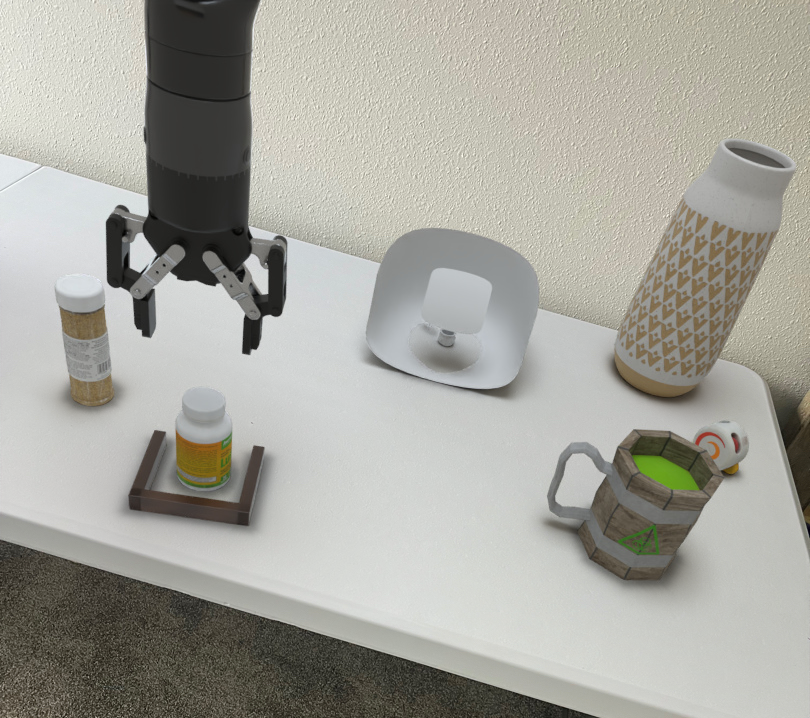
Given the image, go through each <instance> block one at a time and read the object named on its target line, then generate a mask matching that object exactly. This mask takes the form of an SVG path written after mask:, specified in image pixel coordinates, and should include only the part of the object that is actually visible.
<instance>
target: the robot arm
mask: <svg viewBox="0 0 810 718" xmlns="http://www.w3.org/2000/svg"><path fill="white" fill-rule="evenodd" d="M261 2H262V0H144V1H143V3H144V5H143V6H144V7H143V16H144V17H143V21H144V22H143V23H144V24H143V25H144V51H145V53H144V54H145V73H146V77H145V81H146V83H145V85H146V86H145V96H144V108H143V120H144V125H143V127H142V128H143V129H142V130H143V143H144V146H145V165H146V166H145V167H146V188H147V189H146V191H147V209H148V212H147V216H144V215H140V214H136V213H132V212H130V209H129V208H128V207H127V206H126V205H123V204H117V205H116V206H115V207H114V208H113V210H112V211H111V212H110V214H109V215H108V218H107V219H106V220H105V252H106V253H105V256H106V258H105V259H106V263H105V265H106V282H107V284H108V285H109V287H111V288H113V289H119V288H121V289H123V290H125V291H127V292H128V293H129V294H130V295H131V297H132V305H133V306H132V308H133V309H132V310H133V324H134V326H135V328H136V330H138V331H141V337H143V338H148V339H152V337H153V335H154V333H155V331H156V330H157V329H156V328H157V309H156V308H157V306H156V288H154V287H155V286H158V284H159V283H160V282H161V281H162V280H163V279H165V277H166V276H167V275H168V274H169V273H170V274H172V275H173V276H175V277H176V280H177V281H182V282H198V283H201V284H203V285H205V286H210V287H217V285H221V286H222V287H223V288H224V290H225V291H226V293H227V294H228V297H230V298H231V299H232V300H233V301H236V302H237V304H238V305H239V307H240V308H241V310H242V311H243V312H244V316H243V324H242V341H241V342H242V343H241V354H242V355H247V356H251V354H252V351H253V350H254V351H257V350H258V348H259V347H260V343H261V340H262V336H263V335H262V334H263V321H264V317H267V316H271V317H274V318H279V317H281V316H282V314H283V312H284V308H285V305H286V300H287V286H288V285H287V281H288V279H287V277H288V239H287V238H286V237H284V236H283V235H281V234H280V235H279V234H278V235H277V234H276V235H275V236H274V237H273V239H272V240H271V239H265V238H264V239H263V238H258V237H253V234H252V233H251V230H250V226H249V217H250V216H249V215H250V199H251V198H250V197H251V196H250V195H251V176H252V175H251V174H252V158H253V157H252V155H253V134H254V133H253V132H254V131H253V130H254V121H253V108H252V79H253V78H252V77H253V75H252V74H253V55H254V29H255V22H256V18H257V16H258V15H257V14H258V12H259V8H260V6H261V5H260V4H261ZM138 234H143V237H144V238H145V240H146V242H147V243H148V244H149V246H150V247H151V249H152V250H153V251H154V253H155V254H154V255H153V256H152V258H151V259H150V261H148V263H147V264H146V265H145V266H144V267H143V268H142V269H141V270H140V271H137V270H135V269H133V268H132V267H131V243H133V242H134V241H136V239H137V237H138ZM251 255H254V256H256V257H257V259H258V261H259V264H260V267H262V268H263V269H264V270H267V293H262V292H261V290H260V289H259V288H258V286H257V285H256V283H255V282H254V280H253V276H252V273H251V271H250V270H249V268H248V267H247V265H246V263H245V262H246V261H247V260H248V259H249V258H250V257H251Z"/></svg>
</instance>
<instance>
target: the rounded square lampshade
mask: <svg viewBox="0 0 810 718" xmlns="http://www.w3.org/2000/svg"><path fill="white" fill-rule="evenodd" d="M373 287H374V288H373V292H372V298H371V301H370V304H371V305H370V309H369V314H368V318H367V321H366V322H367V323H366V328H365V340H366V344H367V346H368V348H369V349H370V352H372V353H373V354H374V355H375V356H376V357H377V358H378V359H379V360H381V361H382V362H384V363H385V364H388V365H389V366H391V367H393V368H395V369H397V370H400V371H402V372H404V373H407V374H409V375H413V376H415V377H416V376H417V377H419V378H423V379H425V380H429V381H433V382H436V383H441V384H445V385H450V386H455V387H461V388H468V389H477V390H480V389H481V390H489V389H498V388H501V387H505V386H507V385H509V384H510V383H512V381H514V379H515V378H517V375H518V374H519V372H520V370H521V367H522V364H523V361H524V357H525V354H526V351H527V348H528V345H529V341H530V339H531V335H532V332H533V329H534V325H535V322H536V319H537V317H538V310H539V304H540V282H539V279H538V275H537V272H536V271H535V268H534V267H533V265H532V264H531V263H530V261H529V260H528V259H527V258H526V257H524V255H523V254H521V253H520V252H518V251H517V250H515V249H514V248H512V247H511V246H508V245H505V244H504V243H502V242H499V241H498V240H494V239H492V238H489V237H486V236H482V235H479V234H476V233H473V232H468V231H465V230H464V231H463V230H459V229H452V228H443V227H442V228H441V227H424V228H418V229H414V230H411V231H408V232H406V233H404V234H402V235H401V236H399V237H398V238H396V240H395V241H394V242H393V243H392V244H391V245H390V246H389V247H388V249H387V250H386V252H385V254H384V256H383V258H382V260H381V262H380V264H379V267H378V270H377V273H376V276H375V283H374V286H373ZM421 324H425V327H427V329H428V330H430V329H431V328H432V327H433V328H437V329H440V332H439V333H438V338H437V339H438V342H439V344H440V345H441V346H444V347H449V346H452V345H453V344H454V343H455V340H456V335H457V334H463V335H473V336H474V337H475V338H476V340H478V342H479V344H480V355H479V357H478V359H477V360H476V361H475V362H474V363H473V364H471V365H470V366H467V367H465V368H463V369H460V370H457V371H452V372H437V371H435V370H433V369H432V368H429V367H427V366H426V365H425V364H424V363H423V362H422V361H421V360H420V359H419V358H418V357H417V356H416V355H415V353H414V351H413V350H412V348H411V344H410V343H409V342H410V335H411V332H412V331H413V330H414V329H415V328H416V327H418V325H421Z"/></svg>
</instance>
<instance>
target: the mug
mask: <svg viewBox="0 0 810 718" xmlns="http://www.w3.org/2000/svg"><path fill="white" fill-rule="evenodd" d="M692 442H693V441H690V440H688V439H686V438H684V437H683V436H680V435H679V434H677V433H674V432H673V431H672V430H660V429H638V428H633V429H632V430H631V431H630V432H629V434H628V435H626V437H625V438H624V439H623V440H622V441H621V442H620V443H619V444H618V445H617V447H616V450H615V453H614V456H613V459H612V462H609V461H607V460H605V459H604V457H603V456H602V454H601V452H600V451H599V449H598V448H597V447H595V446H594V445H592V444H591V443H590V442H588V441H577V442H575V441H574V442H573V441H572V442H570V443H569V444H568V446H567V447H566V448H565V449H563V451H562V452H561V453H560V454H559V456H558V460H557V464H556V468H555V471H554V474H553V476H552V479H551V481H550V485H549V488H548V491H547V493H546V499H547V504H548V510H549V512H551V513H552V514H554V515H555V516H556V517H558V518H563V519H573V520H579V521H583V522H582V523H581V525H580V526H579V527H578V529H577V533H578V536H579V538H580V541H581V543H582V545H583V548H584V550H585V553H586V554H587V557H588V560H589V561H592V562H593V563H595V564H597V565H598V566H600V567H602V568H604V569H605V570H606V571H608V572H610V573H612V574H613V575H615V576H617V577H618V578H620V579H621V580H623V581H660V580H661V579H662V577H663V576H664V574H665V573H666V571H667V570H668V568H669V567H670V565H671V564H672V562H673V561H674V559H675V557H676V555H677V552H678V551H679V548H680V547H681V545H683V543H684V541H685V540H686V539H687V537H688V536H689V534H690V533H691V531H692V530H693V528H694V526H696V524H697V522H698V520H699V518H700V516H701V514H702V512H703V510H704V508H705V506H706V505H707V504H708V502H709V501H710V500H711V499H712V497H713V496H714V494H715V493H716V491H717V490H718V488H719V487H721V484H722V483H723V481H724V480H725V476H724V474H723V473H722V470H719V468H718V467H717V465H716V464H715V462H714V461H713V459H712V457H711V456H710V454H709V453H708V451H707V450H705V449H703V448H701V447H700V446H698V445H696V444H694V443H692ZM576 454H577V455H578V454H584V455H586V456H587V457H588V458H590V459H591V461H592V463H593V464H594V466H595V468H596V469H597V471H599V472H600V473H602V474H604V475H605V477H604V478H603V479H602V481H601V483H600V485H599V486H598V488H597V490H596V491H595V494H594V497H593V500H592V502H591V506H590V508H585V507H579V506H569V505H567V506H566V505H562V504H560V503H558V502H557V501H556V496H557V492H558V490H559V488H560V485H561V483H562V481H563V478H564V475H565V470H566V465H567V462H568V461H569V459H570V458H571V457H572V455H576Z"/></svg>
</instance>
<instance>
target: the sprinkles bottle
mask: <svg viewBox="0 0 810 718" xmlns="http://www.w3.org/2000/svg"><path fill="white" fill-rule="evenodd" d="M53 287H54V295H55V301H56V304H57V306H58V308H59V315H60V322H61V334H62V341H63V349H64V354H65V362H66V368H67V369H66V370H67V373H68V376H69V378H68V379H69V384H70V396H71V398H72V399H73V401H75V402H76V403H78V404H80V405H83V406H88V407H98V406H103V405H106V404H107V403H109V402H110V401H112V400H113V398H114V397H115V389H114V387H113V377H112V359H111V349H110V348H111V347H110V339H109V330H108V326H107V319H106V311H105V308H106V293H105V292H106V291H105V286H104V283H103V282H102V280H100V279H99V278H98V277H96V276H93V275H91V274H85V273H70V274H69V273H68V274H66V275H63V276H61V277H59V278H58V279H57V280H55V282H54V286H53Z"/></svg>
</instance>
